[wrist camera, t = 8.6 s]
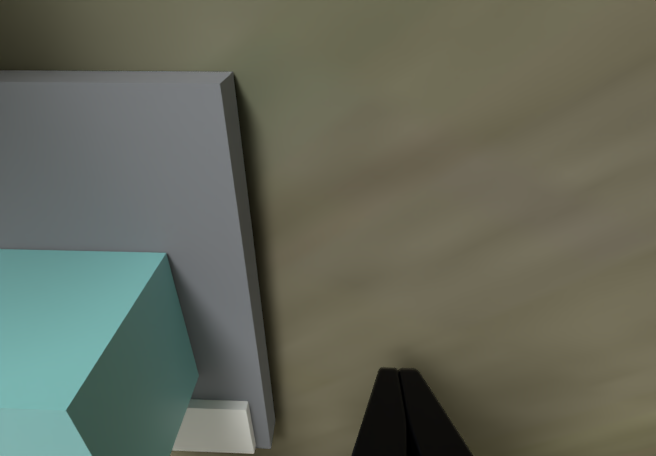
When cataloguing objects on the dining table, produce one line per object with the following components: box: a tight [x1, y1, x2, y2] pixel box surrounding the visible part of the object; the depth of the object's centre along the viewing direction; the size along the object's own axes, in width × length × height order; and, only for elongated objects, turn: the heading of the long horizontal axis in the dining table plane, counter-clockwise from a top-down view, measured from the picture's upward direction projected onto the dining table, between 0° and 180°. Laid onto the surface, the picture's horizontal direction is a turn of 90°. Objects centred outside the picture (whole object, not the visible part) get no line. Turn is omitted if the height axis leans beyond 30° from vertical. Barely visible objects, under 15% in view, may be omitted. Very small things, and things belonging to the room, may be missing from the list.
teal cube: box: [0, 249, 199, 456], centre depth 9 cm, size 4×4×4 cm
